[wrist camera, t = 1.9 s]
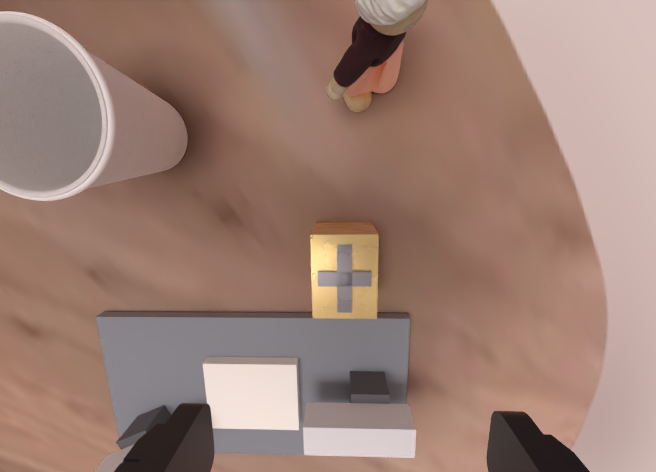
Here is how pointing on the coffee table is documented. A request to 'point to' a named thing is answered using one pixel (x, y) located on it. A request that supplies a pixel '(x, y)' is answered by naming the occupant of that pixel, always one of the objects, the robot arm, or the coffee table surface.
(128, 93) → the dixie cup
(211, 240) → the coffee table surface
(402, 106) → the coffee table surface
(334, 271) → the yellow plus-sign block
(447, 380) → the coffee table surface
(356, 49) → the grandmother figurine
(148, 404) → the lever control panel
